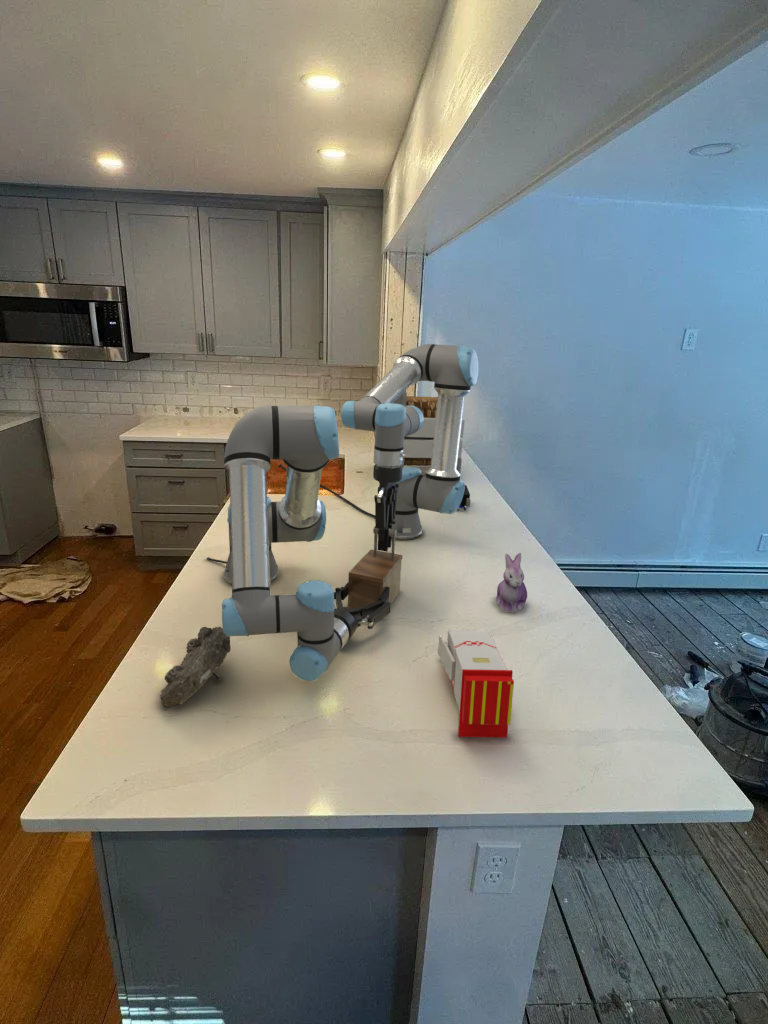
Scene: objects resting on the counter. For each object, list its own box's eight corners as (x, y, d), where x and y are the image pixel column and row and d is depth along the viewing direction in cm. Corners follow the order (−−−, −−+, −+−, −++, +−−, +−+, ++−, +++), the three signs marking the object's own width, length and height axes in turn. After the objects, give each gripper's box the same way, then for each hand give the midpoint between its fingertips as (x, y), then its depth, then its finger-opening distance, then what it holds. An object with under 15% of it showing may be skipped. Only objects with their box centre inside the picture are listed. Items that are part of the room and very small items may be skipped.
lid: (370, 553, 159) (371, 522, 156) (402, 558, 156) (404, 528, 153) (348, 576, 144) (349, 543, 141) (383, 583, 142) (384, 550, 138)
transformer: (382, 463, 289) (386, 382, 275) (445, 464, 293) (451, 384, 279) (390, 482, 257) (394, 392, 243) (460, 483, 261) (468, 394, 247)
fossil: (184, 629, 128) (231, 598, 123) (214, 657, 131) (261, 628, 126) (138, 700, 109) (191, 667, 104) (173, 731, 112) (227, 701, 107)
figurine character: (470, 515, 225) (465, 499, 238) (472, 498, 221) (467, 483, 235) (453, 515, 224) (449, 499, 238) (455, 497, 221) (451, 482, 234)
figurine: (509, 617, 148) (516, 565, 143) (485, 599, 156) (491, 550, 151) (537, 610, 152) (544, 559, 147) (512, 593, 161) (519, 544, 156)
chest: (368, 586, 162) (369, 554, 158) (399, 592, 159) (401, 559, 155) (347, 611, 148) (348, 576, 144) (381, 618, 145) (383, 583, 142)
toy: (488, 613, 130) (523, 677, 101) (484, 667, 133) (517, 744, 104) (435, 612, 130) (455, 676, 101) (432, 666, 133) (451, 743, 103)
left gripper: (291, 634, 132) (330, 592, 152) (380, 655, 125) (409, 609, 145) (290, 606, 129) (331, 567, 149) (381, 626, 123) (411, 582, 143)
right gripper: (392, 474, 139) (388, 561, 147) (410, 460, 152) (405, 540, 160) (364, 470, 141) (361, 556, 149) (384, 456, 154) (380, 536, 162)
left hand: (369, 588), depth 147 cm, fingers closed on chest, 9 cm apart
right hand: (384, 548), depth 154 cm, fingers closed on lid, 2 cm apart
